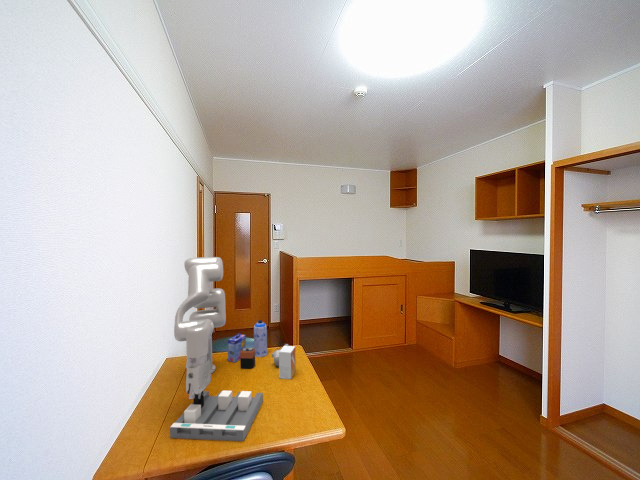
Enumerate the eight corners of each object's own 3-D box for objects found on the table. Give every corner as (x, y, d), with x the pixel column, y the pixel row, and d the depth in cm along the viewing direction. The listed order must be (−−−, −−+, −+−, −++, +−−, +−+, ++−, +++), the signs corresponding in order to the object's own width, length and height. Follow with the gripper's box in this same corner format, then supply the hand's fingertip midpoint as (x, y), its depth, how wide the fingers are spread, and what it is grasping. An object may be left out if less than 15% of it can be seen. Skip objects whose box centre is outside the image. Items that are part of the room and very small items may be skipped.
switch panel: (170, 437, 92) (170, 426, 92) (203, 399, 114) (203, 390, 114) (243, 441, 89) (243, 429, 89) (262, 401, 111) (262, 392, 111)
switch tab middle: (218, 409, 104) (218, 396, 104) (222, 403, 108) (222, 390, 108) (228, 410, 103) (228, 396, 103) (232, 403, 107) (232, 390, 107)
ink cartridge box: (235, 362, 147) (235, 336, 147) (227, 361, 149) (226, 335, 149) (246, 355, 156) (245, 330, 156) (238, 354, 158) (238, 329, 158)
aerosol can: (270, 352, 159) (269, 319, 159) (262, 358, 152) (261, 323, 152) (259, 350, 163) (258, 317, 163) (251, 355, 155) (250, 321, 155)
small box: (291, 379, 128) (291, 352, 128) (278, 378, 129) (278, 351, 129) (296, 371, 136) (295, 346, 136) (284, 370, 137) (283, 345, 137)
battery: (252, 369, 139) (252, 350, 139) (240, 369, 140) (239, 350, 140) (255, 365, 144) (255, 346, 144) (243, 365, 144) (242, 346, 144)
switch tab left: (184, 426, 95) (184, 411, 95) (190, 418, 99) (190, 404, 99) (195, 426, 95) (194, 411, 94) (201, 418, 99) (200, 404, 98)
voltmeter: (297, 367, 140) (297, 349, 140) (276, 373, 135) (276, 353, 135) (281, 349, 164) (280, 333, 164) (263, 353, 158) (262, 337, 158)
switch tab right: (238, 410, 103) (238, 396, 103) (242, 404, 107) (241, 391, 107) (248, 410, 103) (248, 397, 103) (251, 404, 107) (251, 391, 107)
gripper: (196, 368, 93) (197, 421, 93) (216, 350, 108) (217, 395, 108) (176, 368, 93) (177, 420, 93) (198, 350, 108) (199, 395, 108)
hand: (198, 407), depth 101 cm, fingers closed
